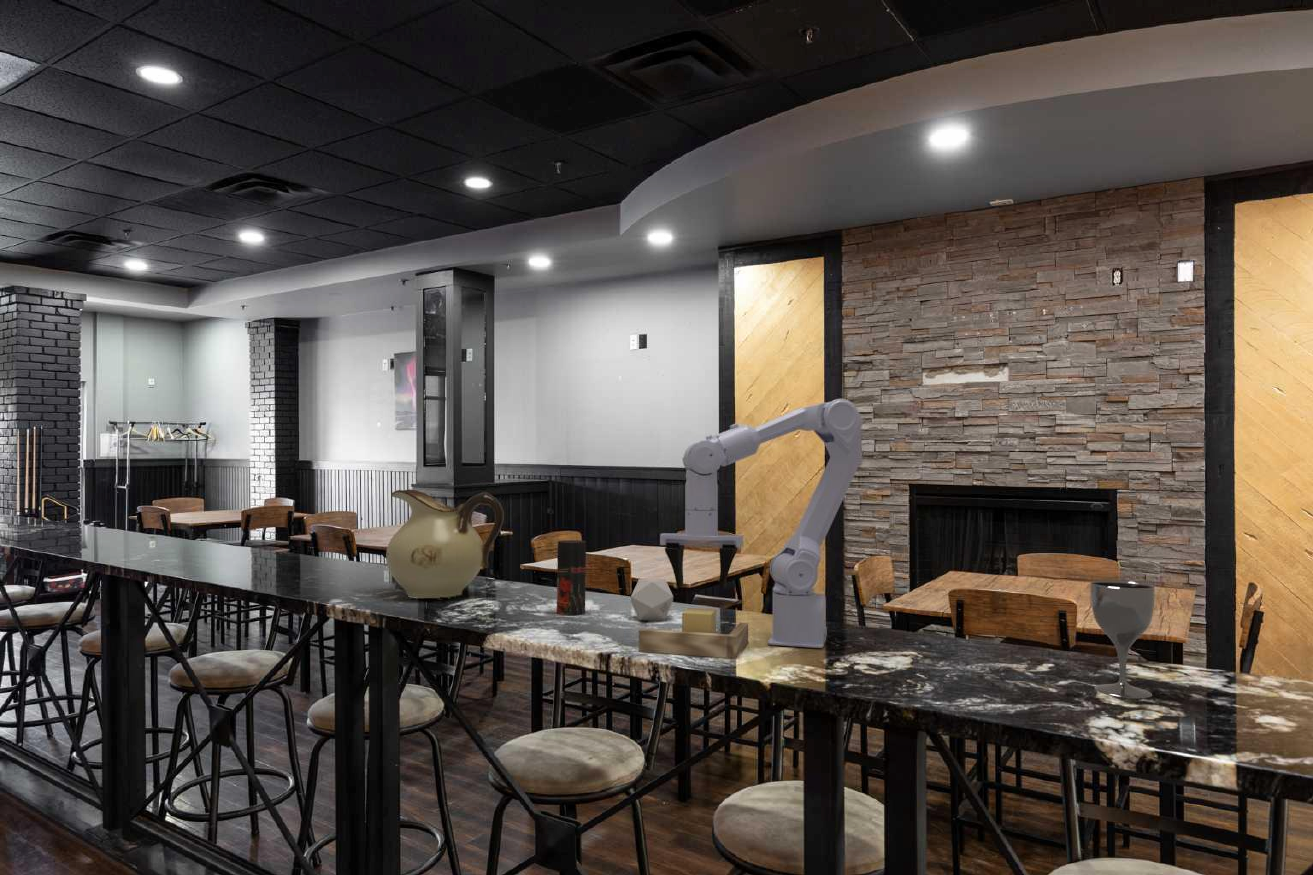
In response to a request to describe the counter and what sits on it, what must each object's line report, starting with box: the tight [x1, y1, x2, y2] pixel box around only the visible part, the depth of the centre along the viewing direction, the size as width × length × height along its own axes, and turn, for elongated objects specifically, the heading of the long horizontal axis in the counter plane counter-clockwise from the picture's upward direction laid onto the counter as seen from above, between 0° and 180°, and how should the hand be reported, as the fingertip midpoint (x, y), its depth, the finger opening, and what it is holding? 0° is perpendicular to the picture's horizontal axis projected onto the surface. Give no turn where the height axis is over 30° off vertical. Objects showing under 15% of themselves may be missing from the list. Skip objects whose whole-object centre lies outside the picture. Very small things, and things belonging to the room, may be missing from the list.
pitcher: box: [385, 488, 505, 598], centre depth 194 cm, size 22×24×25 cm
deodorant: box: [556, 539, 587, 616], centre depth 173 cm, size 6×6×15 cm
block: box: [681, 607, 717, 634], centre depth 141 cm, size 5×5×6 cm
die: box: [630, 578, 674, 621], centre depth 167 cm, size 8×9×10 cm
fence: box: [638, 622, 749, 659], centre depth 141 cm, size 16×12×4 cm
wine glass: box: [1089, 579, 1156, 699], centre depth 116 cm, size 8×8×15 cm
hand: (701, 587), depth 144 cm, fingers open, 7 cm apart
